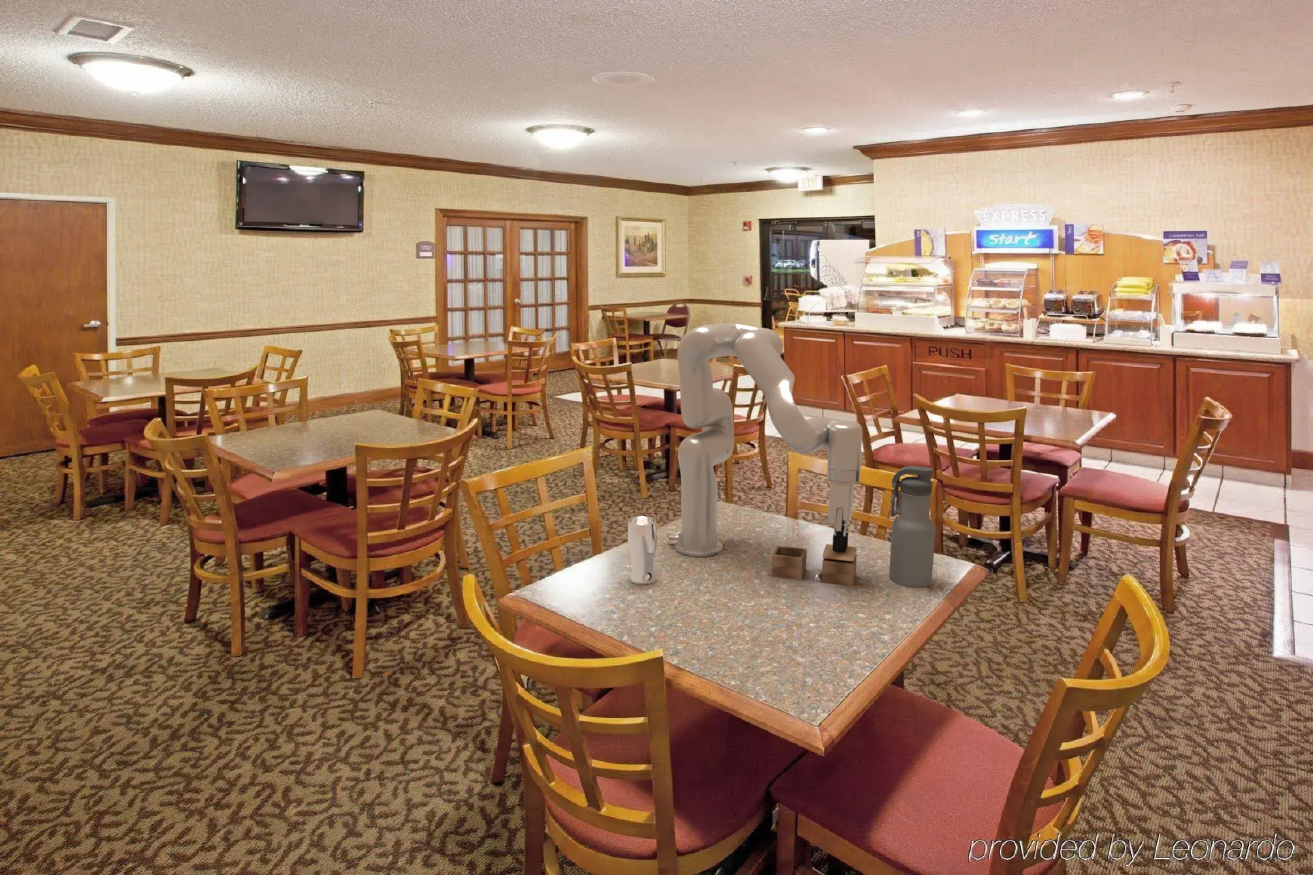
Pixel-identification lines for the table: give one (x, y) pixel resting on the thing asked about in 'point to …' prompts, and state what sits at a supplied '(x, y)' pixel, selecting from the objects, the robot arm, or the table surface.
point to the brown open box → (789, 562)
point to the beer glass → (642, 548)
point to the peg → (817, 576)
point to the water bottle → (912, 529)
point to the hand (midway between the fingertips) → (840, 549)
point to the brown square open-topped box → (839, 571)
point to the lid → (839, 553)
